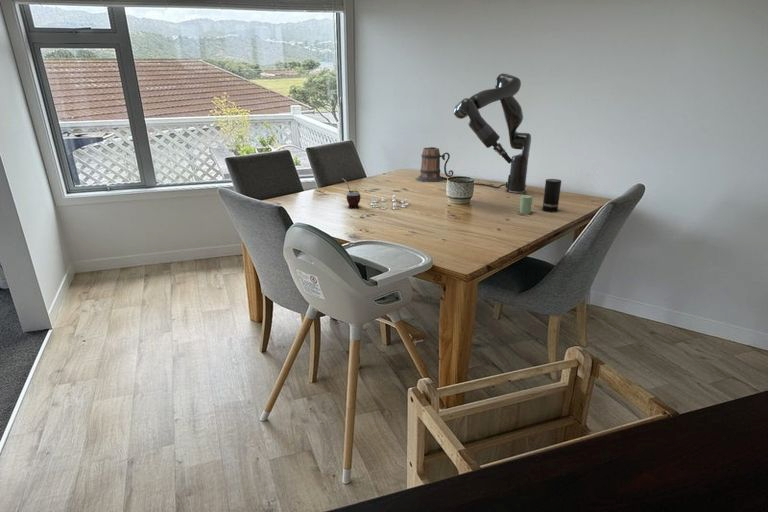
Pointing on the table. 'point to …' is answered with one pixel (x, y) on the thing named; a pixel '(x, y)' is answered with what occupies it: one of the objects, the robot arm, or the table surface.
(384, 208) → the game piece set
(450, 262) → the table surface
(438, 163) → the tankard
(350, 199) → the mate gourd
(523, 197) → the cap
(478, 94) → the robot arm
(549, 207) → the thermos
